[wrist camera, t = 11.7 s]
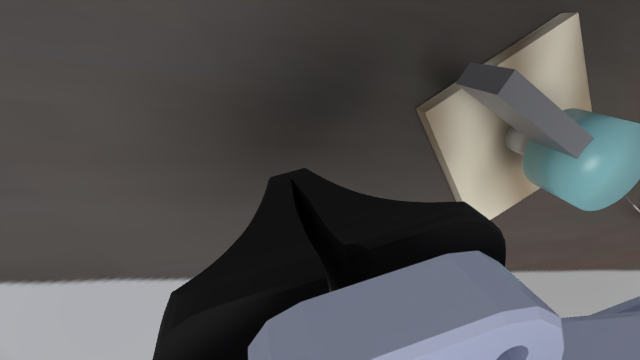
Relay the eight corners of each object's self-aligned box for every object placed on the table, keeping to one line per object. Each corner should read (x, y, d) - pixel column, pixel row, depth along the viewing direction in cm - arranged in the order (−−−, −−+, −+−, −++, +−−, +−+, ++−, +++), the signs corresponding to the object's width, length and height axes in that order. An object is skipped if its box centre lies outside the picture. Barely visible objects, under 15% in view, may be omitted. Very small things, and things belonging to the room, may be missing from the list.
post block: (561, 13, 22) (629, 11, 18) (582, 146, 27) (639, 166, 23) (415, 108, 22) (453, 126, 18) (464, 221, 27) (502, 253, 23)
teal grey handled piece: (608, 132, 21) (667, 149, 18) (553, 197, 22) (600, 222, 19) (493, 25, 16) (548, 26, 13) (432, 116, 18) (470, 133, 15)
